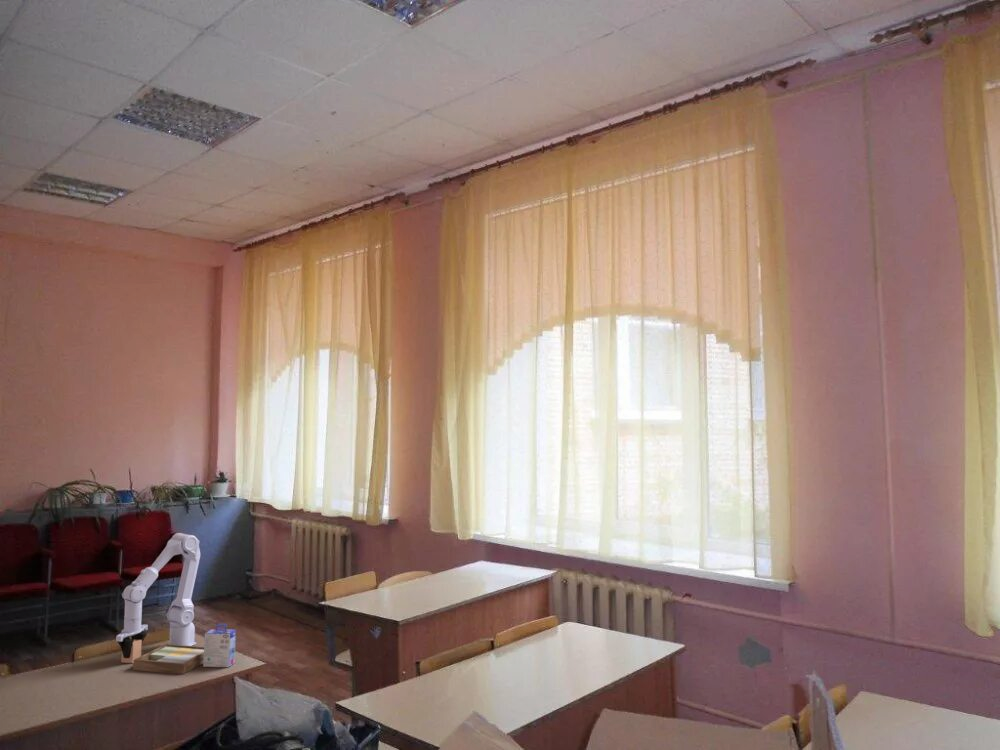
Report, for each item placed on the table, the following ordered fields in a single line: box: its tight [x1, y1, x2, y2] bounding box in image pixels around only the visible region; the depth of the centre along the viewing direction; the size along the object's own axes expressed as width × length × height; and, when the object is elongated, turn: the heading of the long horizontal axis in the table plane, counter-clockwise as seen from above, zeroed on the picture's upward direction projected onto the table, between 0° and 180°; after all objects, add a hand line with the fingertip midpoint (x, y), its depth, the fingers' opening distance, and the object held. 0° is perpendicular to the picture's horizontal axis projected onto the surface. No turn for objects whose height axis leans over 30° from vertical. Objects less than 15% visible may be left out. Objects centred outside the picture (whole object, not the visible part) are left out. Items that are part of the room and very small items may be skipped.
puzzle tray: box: [132, 643, 204, 675], centre depth 258 cm, size 18×20×4 cm
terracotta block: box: [121, 639, 143, 664], centre depth 260 cm, size 5×5×7 cm
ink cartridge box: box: [202, 623, 237, 668], centre depth 257 cm, size 10×6×14 cm, turn 88°
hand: (131, 655), depth 260 cm, fingers closed on terracotta block, 5 cm apart
